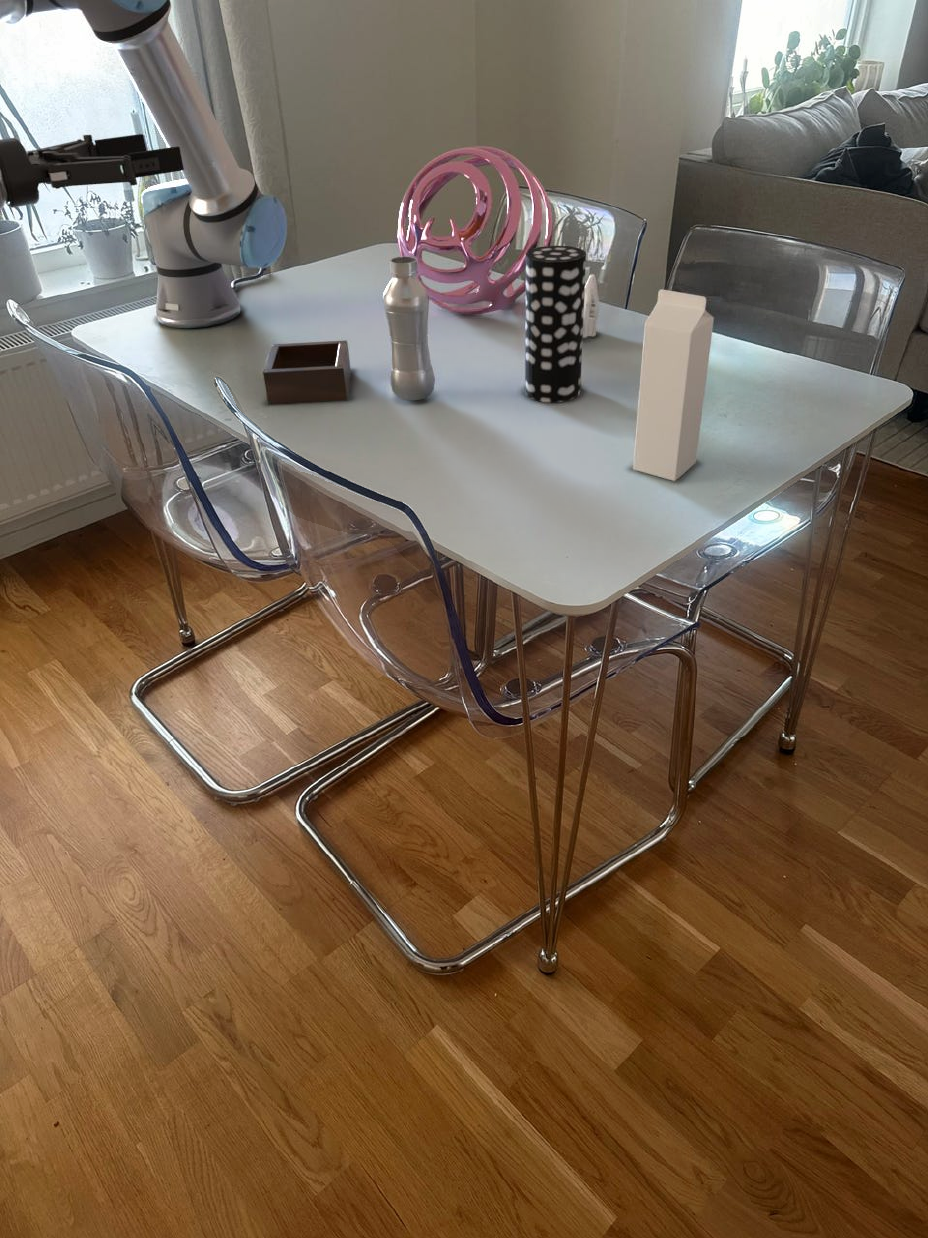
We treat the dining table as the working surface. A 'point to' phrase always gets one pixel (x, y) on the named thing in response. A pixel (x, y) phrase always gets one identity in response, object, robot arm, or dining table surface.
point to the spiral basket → (472, 229)
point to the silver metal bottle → (408, 331)
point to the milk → (672, 384)
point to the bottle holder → (307, 372)
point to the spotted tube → (554, 322)
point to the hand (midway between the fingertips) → (162, 151)
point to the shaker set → (590, 307)
